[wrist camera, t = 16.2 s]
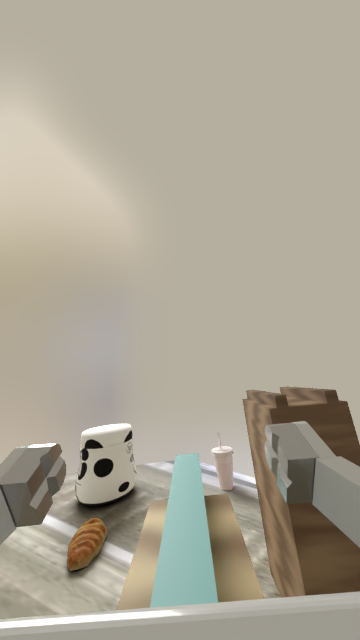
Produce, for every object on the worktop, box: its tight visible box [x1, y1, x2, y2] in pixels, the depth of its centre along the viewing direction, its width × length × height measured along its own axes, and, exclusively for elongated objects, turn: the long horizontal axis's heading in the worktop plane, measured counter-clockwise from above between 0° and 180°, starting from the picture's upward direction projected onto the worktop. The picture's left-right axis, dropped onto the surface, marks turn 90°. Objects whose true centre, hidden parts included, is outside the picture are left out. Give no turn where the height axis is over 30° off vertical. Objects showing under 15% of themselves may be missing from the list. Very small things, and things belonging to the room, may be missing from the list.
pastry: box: [67, 518, 108, 571], centre depth 42 cm, size 9×7×4 cm
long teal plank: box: [150, 453, 218, 608], centre depth 20 cm, size 26×4×4 cm, turn 178°
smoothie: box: [212, 433, 233, 490], centre depth 63 cm, size 6×6×14 cm
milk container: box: [75, 424, 136, 506], centre depth 65 cm, size 17×17×18 cm
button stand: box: [243, 387, 360, 598], centre depth 30 cm, size 14×11×28 cm
